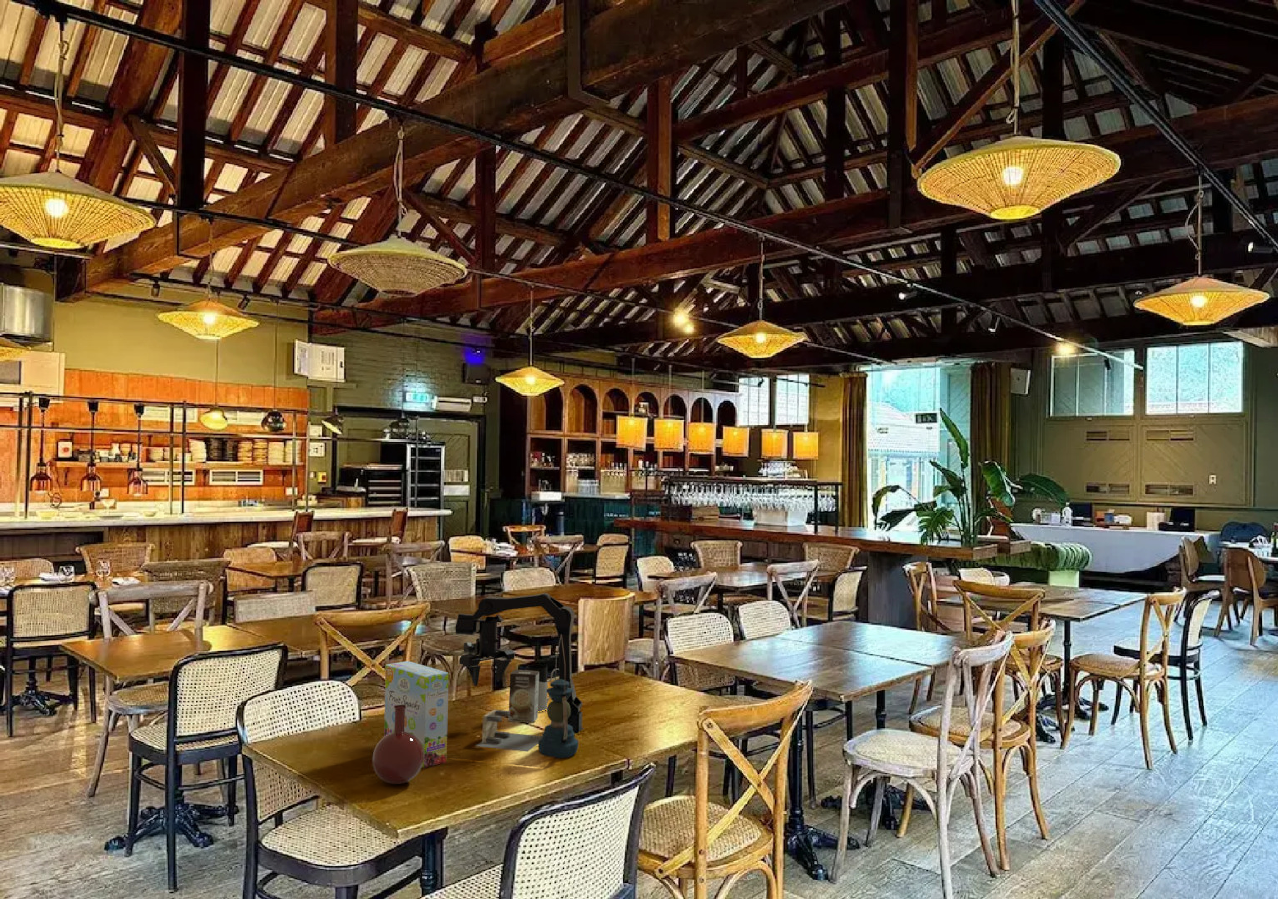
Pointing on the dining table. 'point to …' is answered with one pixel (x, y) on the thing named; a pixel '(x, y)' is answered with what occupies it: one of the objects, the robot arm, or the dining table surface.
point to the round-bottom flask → (398, 753)
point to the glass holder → (541, 684)
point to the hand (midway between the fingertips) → (486, 683)
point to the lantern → (558, 721)
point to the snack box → (419, 706)
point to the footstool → (493, 727)
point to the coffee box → (523, 695)
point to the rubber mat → (514, 742)
